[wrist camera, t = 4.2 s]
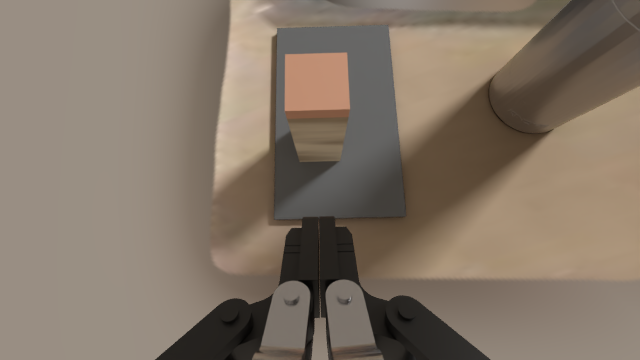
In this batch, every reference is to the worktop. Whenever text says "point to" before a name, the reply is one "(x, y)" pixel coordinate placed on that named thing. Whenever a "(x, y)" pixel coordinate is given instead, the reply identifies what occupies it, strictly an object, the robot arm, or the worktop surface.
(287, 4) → the worktop surface
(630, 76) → the robot arm
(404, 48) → the worktop surface
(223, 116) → the worktop surface
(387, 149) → the rubber mat
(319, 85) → the birch block
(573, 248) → the worktop surface
